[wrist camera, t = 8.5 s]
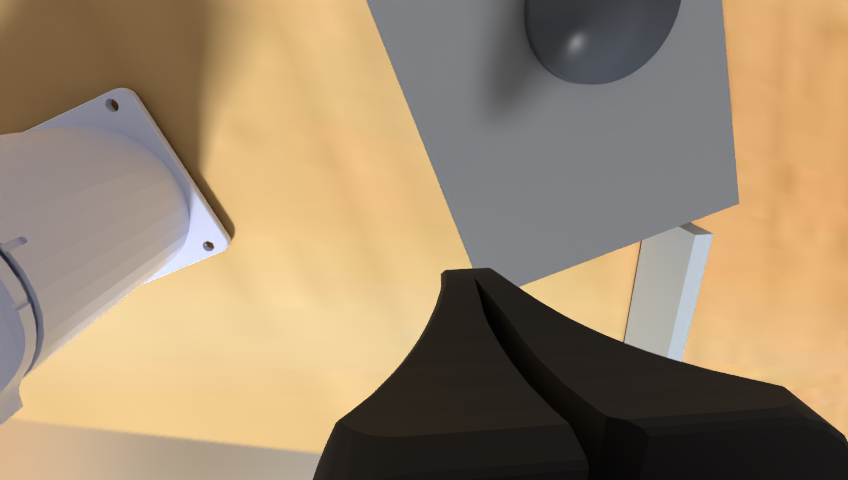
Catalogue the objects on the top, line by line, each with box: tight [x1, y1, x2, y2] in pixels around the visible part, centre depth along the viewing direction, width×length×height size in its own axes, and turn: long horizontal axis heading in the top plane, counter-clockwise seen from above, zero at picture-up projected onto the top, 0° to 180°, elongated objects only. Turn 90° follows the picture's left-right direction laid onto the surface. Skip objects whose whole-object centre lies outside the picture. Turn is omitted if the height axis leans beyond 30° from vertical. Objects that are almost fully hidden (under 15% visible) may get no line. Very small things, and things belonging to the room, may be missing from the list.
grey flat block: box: [366, 0, 739, 287], centre depth 16 cm, size 12×14×4 cm
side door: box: [624, 222, 713, 362], centre depth 21 cm, size 13×1×4 cm, turn 3°
